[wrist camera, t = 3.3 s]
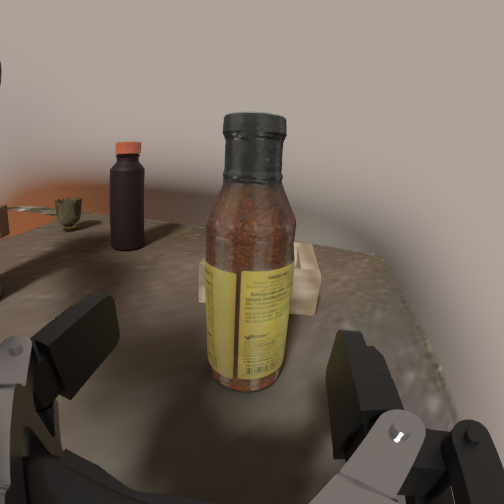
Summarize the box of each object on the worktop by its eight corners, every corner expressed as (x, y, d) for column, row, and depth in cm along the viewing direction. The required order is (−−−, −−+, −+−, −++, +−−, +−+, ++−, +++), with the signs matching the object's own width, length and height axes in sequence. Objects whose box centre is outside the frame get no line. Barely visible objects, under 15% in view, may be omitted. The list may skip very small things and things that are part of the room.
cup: (59, 228, 60) (57, 198, 58) (84, 225, 64) (83, 195, 62) (54, 235, 54) (52, 202, 52) (81, 232, 58) (80, 199, 55)
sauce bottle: (285, 357, 25) (316, 127, 19) (272, 404, 19) (311, 109, 13) (219, 342, 26) (231, 122, 20) (192, 383, 21) (195, 106, 14)
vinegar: (145, 240, 56) (147, 143, 49) (142, 251, 49) (144, 141, 43) (115, 241, 54) (115, 144, 48) (108, 251, 48) (107, 142, 41)
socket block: (198, 302, 34) (199, 263, 32) (222, 263, 47) (224, 234, 45) (314, 316, 32) (321, 277, 31) (307, 273, 46) (311, 243, 44)
